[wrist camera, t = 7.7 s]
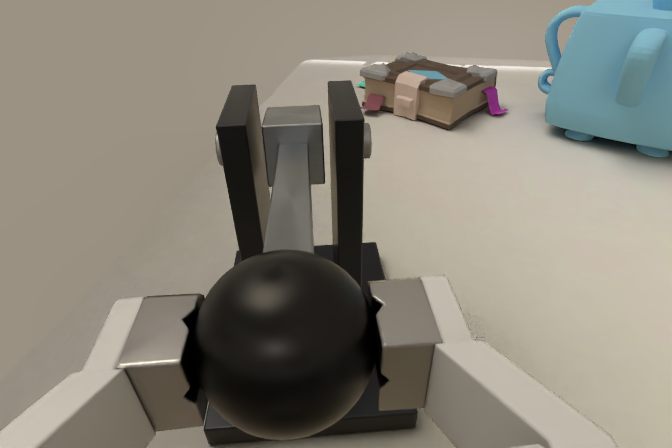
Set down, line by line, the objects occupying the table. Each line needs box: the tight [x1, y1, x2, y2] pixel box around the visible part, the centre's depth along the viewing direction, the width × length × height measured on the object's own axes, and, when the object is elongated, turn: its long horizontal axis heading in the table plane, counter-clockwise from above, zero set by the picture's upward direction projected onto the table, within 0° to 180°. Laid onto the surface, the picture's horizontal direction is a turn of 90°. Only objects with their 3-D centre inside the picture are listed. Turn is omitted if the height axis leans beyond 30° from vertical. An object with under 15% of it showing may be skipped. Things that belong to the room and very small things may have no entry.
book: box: [357, 53, 507, 130], centre depth 50 cm, size 20×12×5 cm, turn 48°
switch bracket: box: [204, 81, 418, 445], centre depth 20 cm, size 12×9×13 cm
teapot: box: [538, 0, 672, 157], centre depth 40 cm, size 18×16×14 cm
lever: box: [192, 105, 377, 440], centre depth 12 cm, size 14×3×3 cm, turn 4°
